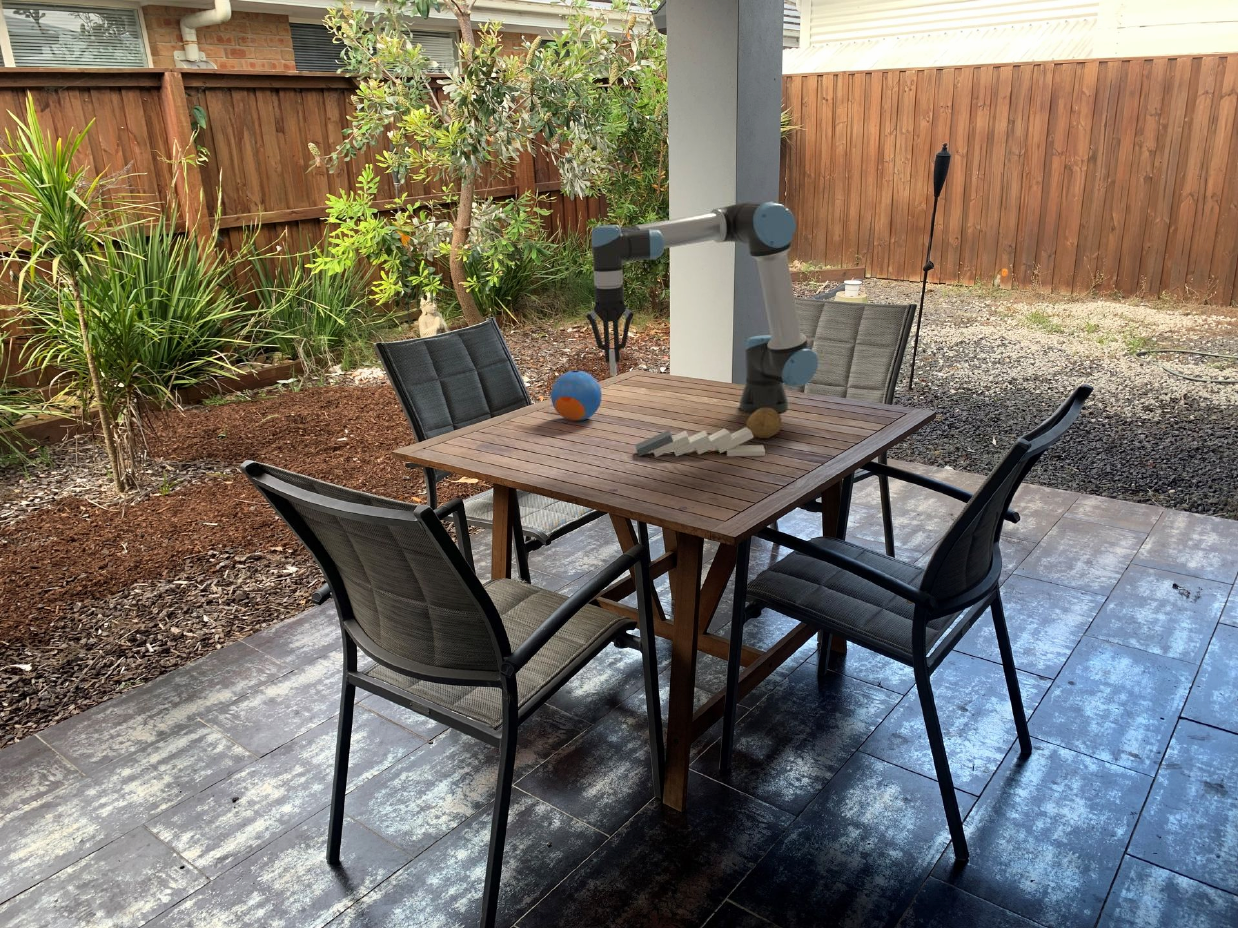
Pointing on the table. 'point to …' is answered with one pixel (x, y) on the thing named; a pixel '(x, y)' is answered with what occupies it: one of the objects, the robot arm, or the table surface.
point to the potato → (764, 422)
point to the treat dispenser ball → (576, 395)
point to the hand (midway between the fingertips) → (613, 373)
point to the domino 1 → (654, 443)
